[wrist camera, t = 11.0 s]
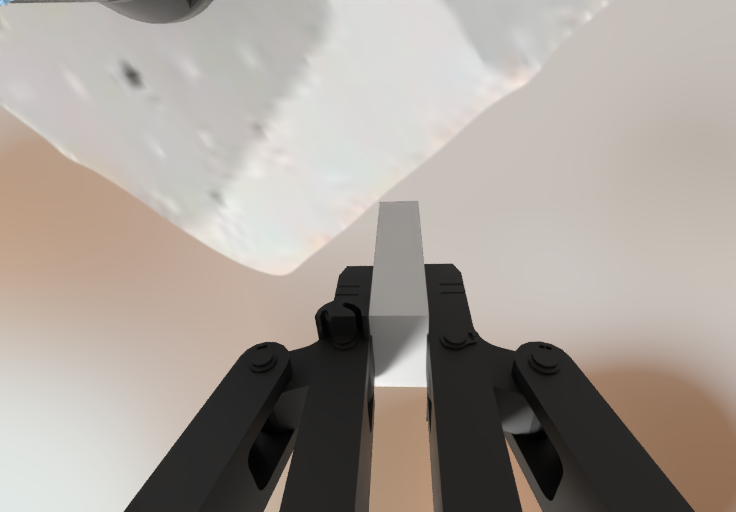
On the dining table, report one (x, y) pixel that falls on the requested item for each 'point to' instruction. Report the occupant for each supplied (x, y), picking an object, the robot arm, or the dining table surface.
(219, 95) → the dining table surface
